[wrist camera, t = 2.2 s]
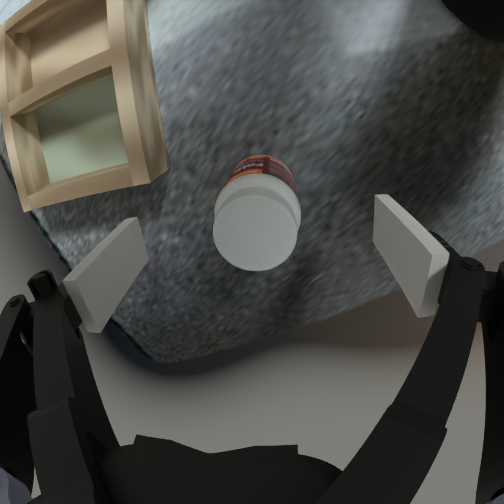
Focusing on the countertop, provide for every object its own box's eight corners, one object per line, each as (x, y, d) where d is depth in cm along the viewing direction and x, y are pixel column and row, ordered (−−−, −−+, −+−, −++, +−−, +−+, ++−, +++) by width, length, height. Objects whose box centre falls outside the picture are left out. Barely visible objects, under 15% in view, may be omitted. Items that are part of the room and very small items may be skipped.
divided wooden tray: (25, 29, 14) (-3, 28, 10) (143, -33, 12) (121, -50, 9) (50, 195, 22) (24, 212, 19) (170, 168, 21) (150, 183, 17)
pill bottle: (258, 140, 19) (250, 164, 12) (307, 184, 21) (326, 234, 13) (215, 187, 21) (185, 237, 14) (263, 227, 23) (258, 293, 15)
